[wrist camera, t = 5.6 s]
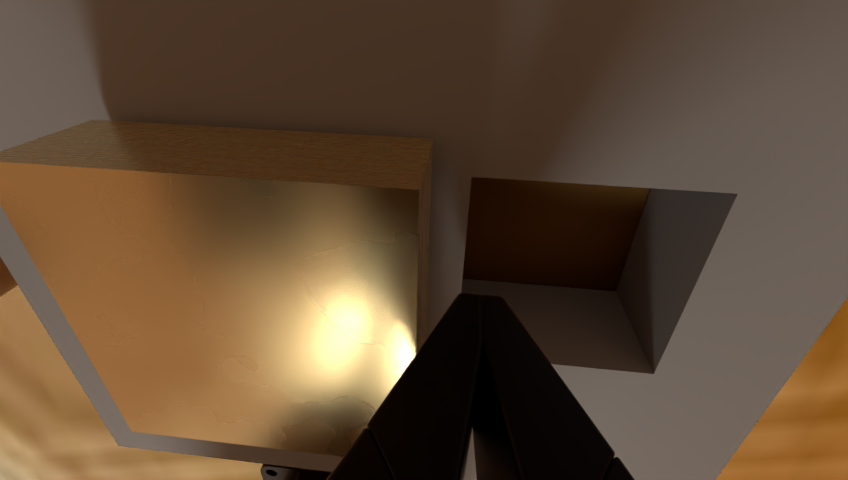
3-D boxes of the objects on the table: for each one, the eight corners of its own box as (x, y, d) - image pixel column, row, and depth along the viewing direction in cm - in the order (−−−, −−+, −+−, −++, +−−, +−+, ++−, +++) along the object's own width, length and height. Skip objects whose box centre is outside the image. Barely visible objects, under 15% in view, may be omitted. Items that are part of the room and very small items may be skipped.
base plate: (651, 424, 15) (688, 516, 12) (174, 373, 16) (118, 446, 14) (898, -59, 7) (1124, -85, 5) (-20, -75, 9) (-223, -100, 6)
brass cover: (424, 383, 10) (413, 465, 8) (187, 359, 10) (131, 431, 9) (433, 138, 7) (419, 189, 5) (92, 119, 7) (-26, 160, 6)
